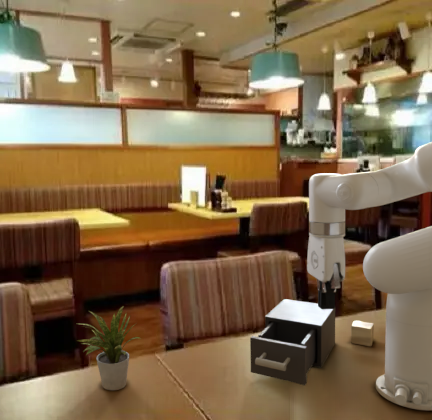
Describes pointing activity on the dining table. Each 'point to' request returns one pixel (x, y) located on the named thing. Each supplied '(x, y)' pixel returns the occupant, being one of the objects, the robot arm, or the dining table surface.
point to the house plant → (110, 352)
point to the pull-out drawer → (284, 352)
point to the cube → (362, 333)
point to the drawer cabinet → (308, 323)
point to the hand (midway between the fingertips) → (326, 307)
